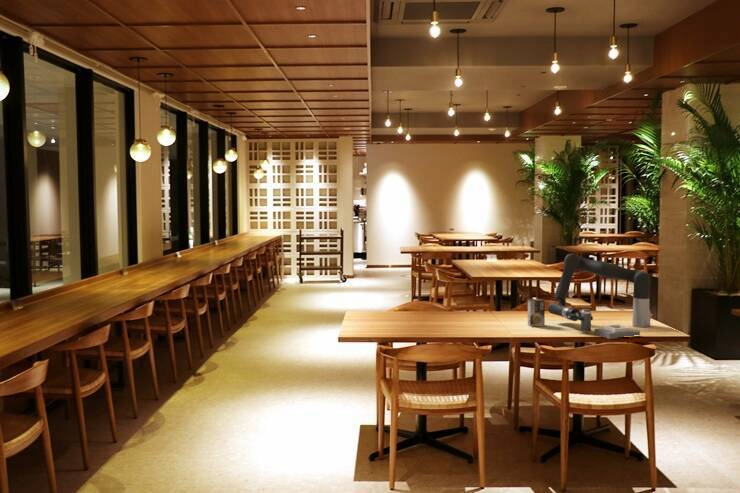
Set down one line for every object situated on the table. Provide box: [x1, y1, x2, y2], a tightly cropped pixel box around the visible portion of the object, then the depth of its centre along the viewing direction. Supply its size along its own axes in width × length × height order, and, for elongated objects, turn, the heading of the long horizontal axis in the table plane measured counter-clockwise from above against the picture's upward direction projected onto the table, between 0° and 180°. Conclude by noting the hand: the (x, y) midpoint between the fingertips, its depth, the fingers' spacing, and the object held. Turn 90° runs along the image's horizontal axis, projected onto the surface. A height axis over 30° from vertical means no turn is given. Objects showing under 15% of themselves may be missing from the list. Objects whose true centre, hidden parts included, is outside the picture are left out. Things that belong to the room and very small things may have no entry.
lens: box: [580, 308, 592, 332], centre depth 401 cm, size 6×6×12 cm
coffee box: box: [527, 298, 546, 327], centre depth 423 cm, size 9×6×16 cm
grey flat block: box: [593, 323, 641, 340], centre depth 396 cm, size 20×14×5 cm
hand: (587, 318), depth 399 cm, fingers closed on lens, 5 cm apart
